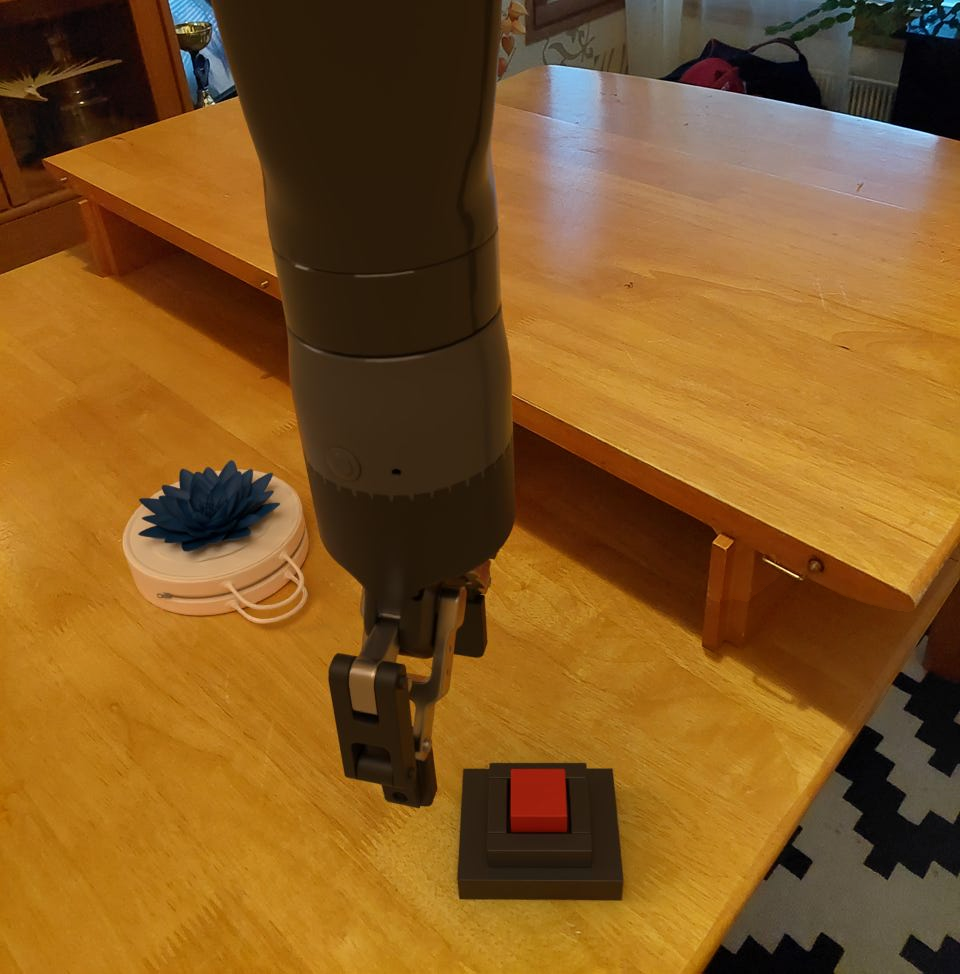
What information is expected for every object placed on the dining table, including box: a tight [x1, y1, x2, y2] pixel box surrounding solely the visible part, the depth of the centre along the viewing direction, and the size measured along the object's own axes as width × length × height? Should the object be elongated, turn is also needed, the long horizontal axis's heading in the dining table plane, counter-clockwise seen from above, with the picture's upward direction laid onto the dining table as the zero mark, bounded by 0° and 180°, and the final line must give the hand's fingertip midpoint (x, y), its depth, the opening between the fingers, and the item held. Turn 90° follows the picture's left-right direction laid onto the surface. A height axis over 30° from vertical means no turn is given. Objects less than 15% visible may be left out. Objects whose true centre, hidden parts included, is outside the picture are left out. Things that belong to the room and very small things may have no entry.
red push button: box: [456, 762, 625, 901], centre depth 59 cm, size 10×8×4 cm
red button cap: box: [511, 769, 567, 832], centre depth 57 cm, size 3×3×2 cm
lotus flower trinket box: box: [121, 459, 310, 625], centre depth 81 cm, size 7×16×20 cm
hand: (440, 717), depth 43 cm, fingers open, 8 cm apart
